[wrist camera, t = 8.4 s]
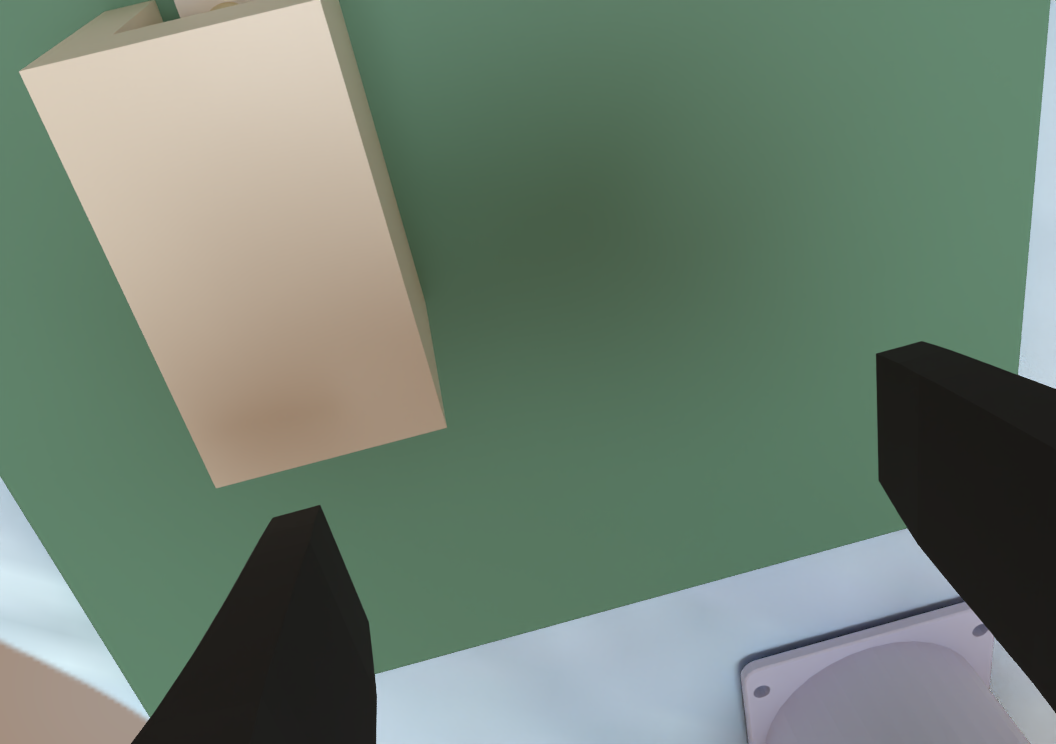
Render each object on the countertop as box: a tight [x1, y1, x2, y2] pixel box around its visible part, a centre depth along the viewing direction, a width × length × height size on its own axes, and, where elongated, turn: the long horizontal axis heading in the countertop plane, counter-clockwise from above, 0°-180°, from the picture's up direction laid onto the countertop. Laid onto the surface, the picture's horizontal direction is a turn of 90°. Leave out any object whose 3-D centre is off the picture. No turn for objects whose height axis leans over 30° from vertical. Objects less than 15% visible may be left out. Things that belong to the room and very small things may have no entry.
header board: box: [0, 0, 1050, 717], centre depth 20 cm, size 20×24×3 cm
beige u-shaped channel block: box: [19, 0, 447, 488], centre depth 16 cm, size 7×4×5 cm, turn 11°
